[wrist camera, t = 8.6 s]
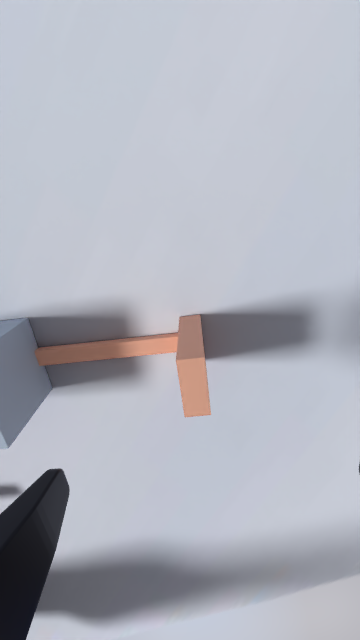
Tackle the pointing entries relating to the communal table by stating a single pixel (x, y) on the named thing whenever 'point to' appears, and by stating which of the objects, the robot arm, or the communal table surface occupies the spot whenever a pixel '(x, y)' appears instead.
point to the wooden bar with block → (32, 379)
